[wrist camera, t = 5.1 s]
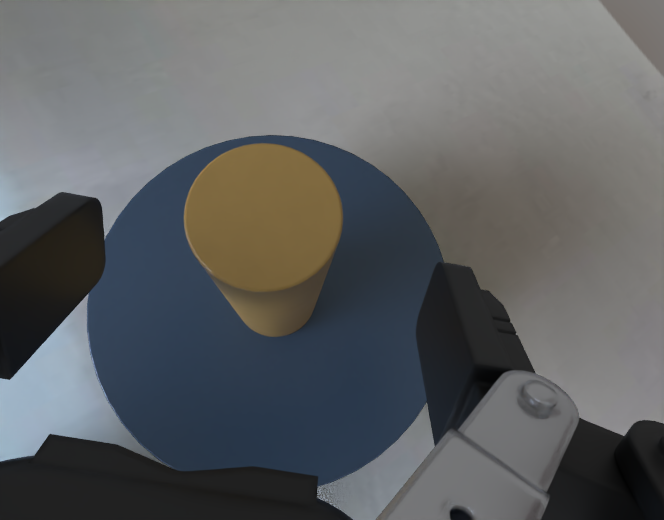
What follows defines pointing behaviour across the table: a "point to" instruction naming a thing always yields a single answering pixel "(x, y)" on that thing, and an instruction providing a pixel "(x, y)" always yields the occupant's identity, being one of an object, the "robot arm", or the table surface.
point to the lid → (264, 310)
